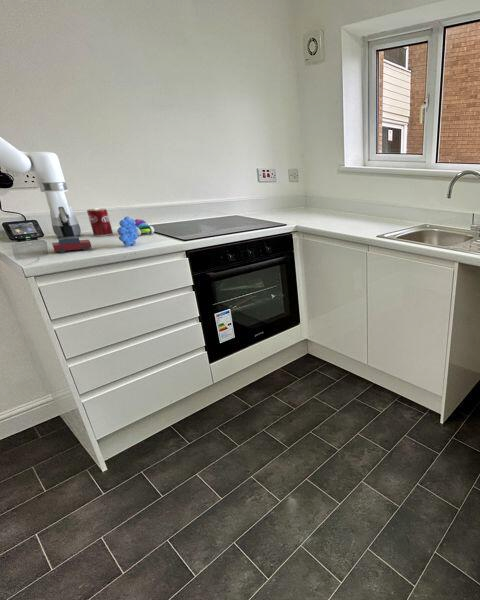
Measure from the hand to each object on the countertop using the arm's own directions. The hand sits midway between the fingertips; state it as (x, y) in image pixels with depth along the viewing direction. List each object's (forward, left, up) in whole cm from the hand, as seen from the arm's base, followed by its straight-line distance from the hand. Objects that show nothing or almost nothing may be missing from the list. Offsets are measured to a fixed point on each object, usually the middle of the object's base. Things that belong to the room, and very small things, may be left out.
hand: (68, 236), depth 137 cm
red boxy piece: (0, +3, -3) cm, 5 cm away
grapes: (+18, -2, -6) cm, 19 cm away
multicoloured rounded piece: (+28, +22, -6) cm, 36 cm away
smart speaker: (+2, +34, -6) cm, 34 cm away
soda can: (+14, +30, -6) cm, 33 cm away
